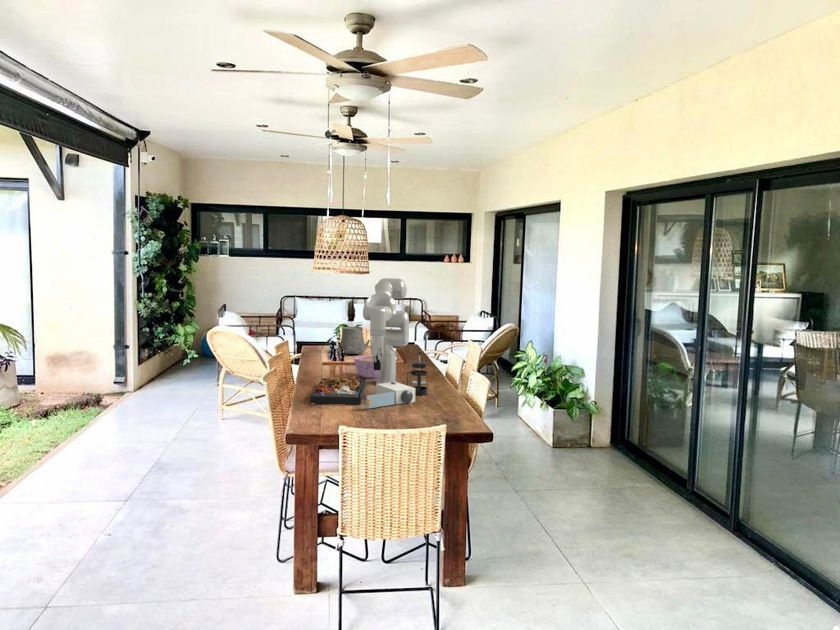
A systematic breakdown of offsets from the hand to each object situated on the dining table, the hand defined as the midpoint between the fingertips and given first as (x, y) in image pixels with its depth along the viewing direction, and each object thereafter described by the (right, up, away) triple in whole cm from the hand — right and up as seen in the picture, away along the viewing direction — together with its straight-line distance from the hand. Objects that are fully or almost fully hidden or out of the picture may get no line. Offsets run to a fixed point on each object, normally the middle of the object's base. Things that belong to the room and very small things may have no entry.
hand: (377, 369), depth 310 cm
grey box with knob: (+8, -16, +14) cm, 23 cm away
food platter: (-21, -16, +22) cm, 34 cm away
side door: (+3, -17, -4) cm, 18 cm away
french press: (+20, -16, +28) cm, 38 cm away
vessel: (-29, -2, +153) cm, 156 cm away
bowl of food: (-9, -11, +70) cm, 72 cm away
